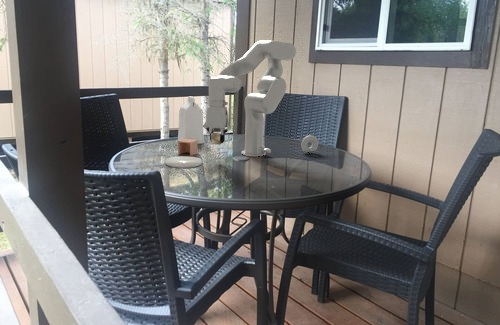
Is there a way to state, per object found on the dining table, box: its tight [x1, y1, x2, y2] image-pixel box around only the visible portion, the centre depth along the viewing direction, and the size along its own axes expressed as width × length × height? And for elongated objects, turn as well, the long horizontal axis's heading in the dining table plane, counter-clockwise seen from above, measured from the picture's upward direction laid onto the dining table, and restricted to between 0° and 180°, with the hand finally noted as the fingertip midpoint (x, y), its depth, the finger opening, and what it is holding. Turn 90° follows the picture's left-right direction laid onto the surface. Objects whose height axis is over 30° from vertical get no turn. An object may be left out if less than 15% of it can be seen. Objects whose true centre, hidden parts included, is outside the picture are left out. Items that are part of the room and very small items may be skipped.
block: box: [210, 131, 223, 146], centre depth 200 cm, size 4×4×5 cm
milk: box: [177, 96, 205, 145], centre depth 240 cm, size 12×12×26 cm
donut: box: [300, 134, 319, 152], centre depth 225 cm, size 10×4×10 cm, turn 112°
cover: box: [177, 139, 198, 157], centre depth 212 cm, size 7×7×7 cm
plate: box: [164, 155, 203, 169], centre depth 194 cm, size 17×17×1 cm
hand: (217, 141), depth 200 cm, fingers closed on block, 4 cm apart
